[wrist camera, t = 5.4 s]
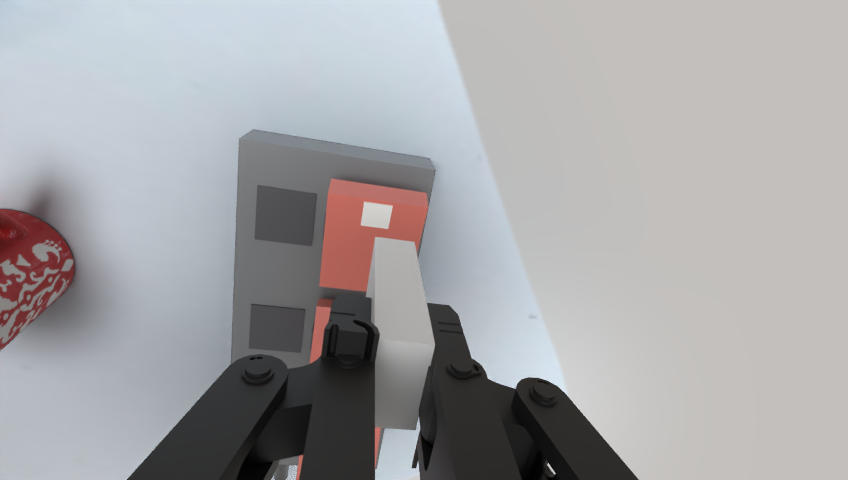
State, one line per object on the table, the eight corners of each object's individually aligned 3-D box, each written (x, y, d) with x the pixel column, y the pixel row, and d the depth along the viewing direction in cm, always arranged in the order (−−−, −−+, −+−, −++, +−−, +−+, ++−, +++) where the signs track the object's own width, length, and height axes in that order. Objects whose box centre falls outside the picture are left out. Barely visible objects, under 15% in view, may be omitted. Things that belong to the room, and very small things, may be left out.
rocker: (322, 269, 30) (318, 287, 29) (331, 178, 26) (327, 193, 24) (405, 279, 31) (405, 296, 29) (426, 192, 27) (428, 208, 25)
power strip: (237, 462, 41) (222, 509, 36) (253, 129, 30) (234, 141, 26) (370, 468, 43) (369, 513, 38) (429, 158, 32) (438, 174, 28)
